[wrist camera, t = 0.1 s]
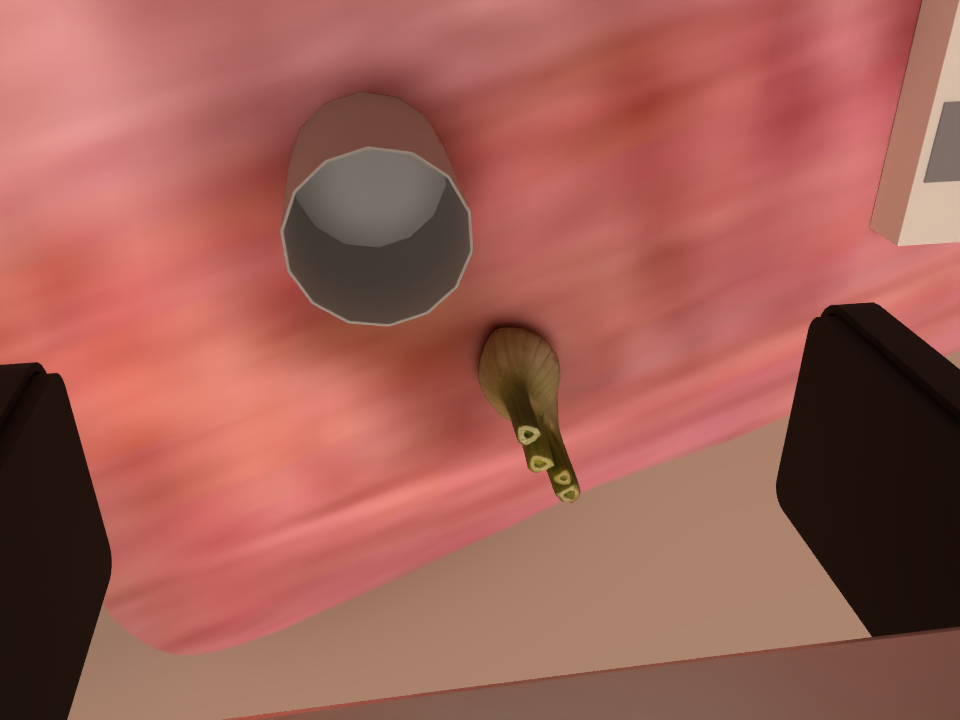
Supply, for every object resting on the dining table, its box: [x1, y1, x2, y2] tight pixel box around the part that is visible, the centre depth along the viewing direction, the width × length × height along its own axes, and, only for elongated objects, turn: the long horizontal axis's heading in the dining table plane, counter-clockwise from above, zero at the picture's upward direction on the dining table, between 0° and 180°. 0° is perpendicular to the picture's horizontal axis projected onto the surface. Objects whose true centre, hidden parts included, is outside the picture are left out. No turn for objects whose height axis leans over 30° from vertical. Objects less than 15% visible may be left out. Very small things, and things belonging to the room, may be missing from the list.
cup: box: [280, 92, 473, 327], centre depth 42 cm, size 8×8×10 cm
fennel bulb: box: [478, 327, 580, 503], centre depth 48 cm, size 6×5×12 cm
